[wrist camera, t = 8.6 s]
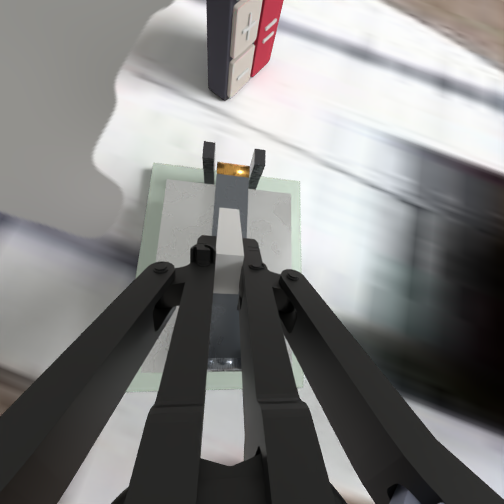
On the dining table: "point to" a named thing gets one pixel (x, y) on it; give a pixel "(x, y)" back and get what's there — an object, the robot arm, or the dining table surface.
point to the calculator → (239, 41)
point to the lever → (225, 305)
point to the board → (150, 245)
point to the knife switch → (200, 223)
